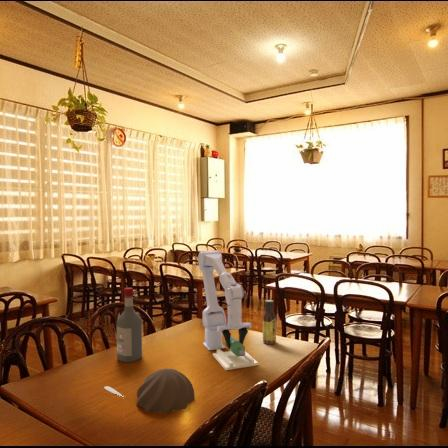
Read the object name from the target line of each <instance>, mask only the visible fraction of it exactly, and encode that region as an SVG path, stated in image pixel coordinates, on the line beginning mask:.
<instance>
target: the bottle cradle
mask: <svg viewBox="0 0 448 448" xmlns="http://www.w3.org/2000/svg"><path fill="white" fill-rule="evenodd" d="M212 357H214V359H215V360H216V361H217V362H218V363H219V365H220V366H221V367H222V368H223V369H224V370H225V371H229V370H236V369H242V368H247V367H248V368H250V367H254V366H259V362H258V361H257V360H256V359H254V357H252V356H251V355H250V354H249V353H248V352H247V351H246V350H245V355H244V356H236V355H235V354H234V353H233V352H232V351H231V350H228V351H227V350H226V351H223V350H222V349H216V352H213V353H212Z"/></svg>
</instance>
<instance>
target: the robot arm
mask: <svg viewBox="0 0 448 448" xmlns="http://www.w3.org/2000/svg"><path fill="white" fill-rule="evenodd" d="M197 261H198V269H199V271H201V272H202V273H201V274H202V280H203V281H202V282H203V285H204V286H203V288H204V294H205V300H206V306H207V307H206V308H204V310H203V311H202V319H201V321H202V325H203V327H204V328H205V329H204V342H202V344H203V345H204V347H205V348H206V349H207V350H208V351H213V350H217V349H221V350H222V349H226V348H227V349H229V348H230V336H232V335H231V332H230V331H235V330H238V341H239V342H240V343H241V344H242V345H243V346H244V341H245V338H246V336H247V334H248V333H249V332H248V331H249V330H248V329H252V323H251V322H242V299H243V298H244V296H245V291H244V290H245V289H244V288H243V287H244V286H243V285H241V284H240V283H238V282H237V281H236V280H235V279H234V277H233V275H232V273H231V272H227V270H226V268H225V264H224V263H223V255H222V252H221V251H220V250H219V249H216V250H205V251H204V250H201V251H200V252H199V253H198V256H197ZM214 271H216V273H217V274H218V276H219V279H218V281H219V282H220V284H221V287H222V288H223V290H224V296H225V302H226V304H227V317H226V314H225V311H224V308H223V307H222V306H220V305H219V302H218V296H217V289H216V284H215V276H214ZM223 337H224V341H226V345H227V346H226V345H224V344H223Z"/></svg>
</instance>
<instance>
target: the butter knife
mask: <svg viewBox="0 0 448 448" xmlns="http://www.w3.org/2000/svg"><path fill="white" fill-rule="evenodd" d="M103 389H104V390H106V391H108V392H110V393H111V394H113V395H115V394H117V395H116V396H118V395H119V396H118V397H120V396H122V394H121V393H120V392H119V391H117V390H116V389H114V388H113V387H111V386H108V385H107V386H104V387H103ZM124 396H125V395H123V396H122V397H124Z"/></svg>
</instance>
